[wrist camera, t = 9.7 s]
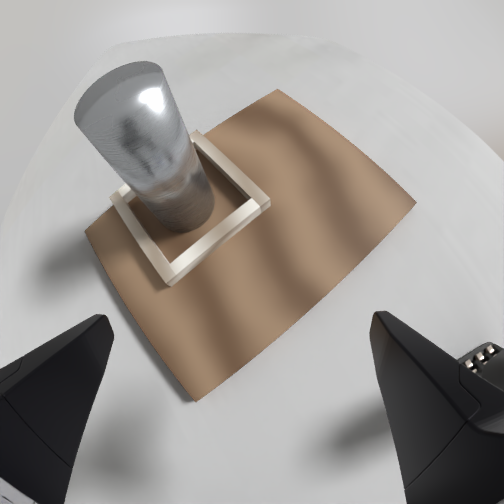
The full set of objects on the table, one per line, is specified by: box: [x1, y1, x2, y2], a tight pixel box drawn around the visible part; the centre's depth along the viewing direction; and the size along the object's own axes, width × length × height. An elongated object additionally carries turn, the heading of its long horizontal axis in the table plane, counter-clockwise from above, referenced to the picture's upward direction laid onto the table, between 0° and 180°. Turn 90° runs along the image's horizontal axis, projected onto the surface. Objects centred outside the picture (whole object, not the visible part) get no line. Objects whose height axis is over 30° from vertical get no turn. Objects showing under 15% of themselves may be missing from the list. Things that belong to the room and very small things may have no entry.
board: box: [85, 89, 417, 402], centre depth 23 cm, size 24×18×2 cm
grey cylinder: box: [74, 61, 215, 233], centre depth 18 cm, size 5×5×13 cm
